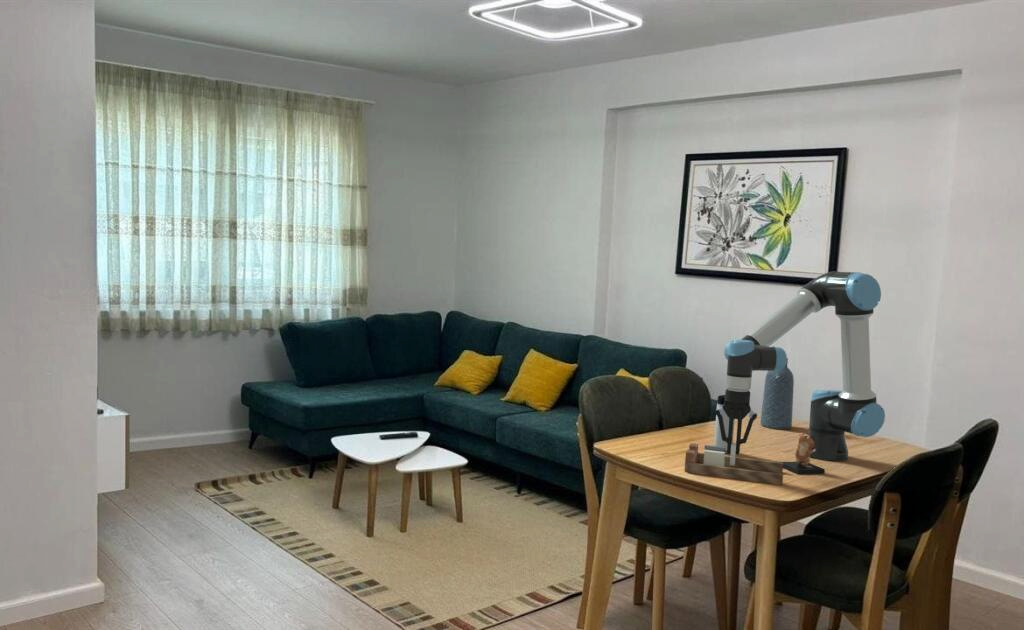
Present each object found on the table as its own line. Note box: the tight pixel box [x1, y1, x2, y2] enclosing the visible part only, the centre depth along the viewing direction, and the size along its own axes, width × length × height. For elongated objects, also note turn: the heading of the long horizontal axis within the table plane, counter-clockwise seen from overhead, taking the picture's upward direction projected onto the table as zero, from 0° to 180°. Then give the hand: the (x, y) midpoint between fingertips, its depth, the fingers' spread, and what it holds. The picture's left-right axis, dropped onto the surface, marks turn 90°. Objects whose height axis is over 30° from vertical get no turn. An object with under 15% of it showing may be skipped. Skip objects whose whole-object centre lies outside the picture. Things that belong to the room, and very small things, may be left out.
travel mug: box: [713, 394, 736, 455], centre depth 292 cm, size 6×7×20 cm
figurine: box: [780, 432, 826, 476], centre depth 272 cm, size 10×10×12 cm
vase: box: [759, 357, 795, 430], centre depth 342 cm, size 12×12×28 cm
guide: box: [684, 443, 784, 486], centre depth 264 cm, size 29×17×6 cm, turn 72°
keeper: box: [703, 444, 726, 467], centre depth 266 cm, size 6×6×7 cm
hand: (732, 464), depth 264 cm, fingers closed
